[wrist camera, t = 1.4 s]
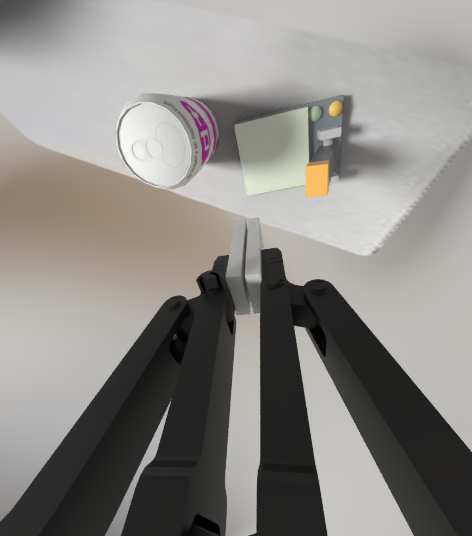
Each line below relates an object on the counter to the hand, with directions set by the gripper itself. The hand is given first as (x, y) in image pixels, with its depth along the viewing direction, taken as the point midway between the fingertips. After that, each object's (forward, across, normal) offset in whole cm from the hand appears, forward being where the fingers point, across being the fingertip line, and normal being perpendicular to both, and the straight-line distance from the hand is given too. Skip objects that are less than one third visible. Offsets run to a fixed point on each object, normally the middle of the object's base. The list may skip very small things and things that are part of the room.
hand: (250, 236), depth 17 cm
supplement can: (+23, -8, +6) cm, 25 cm away
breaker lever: (+20, +10, 0) cm, 23 cm away
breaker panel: (+22, +6, +2) cm, 23 cm away
